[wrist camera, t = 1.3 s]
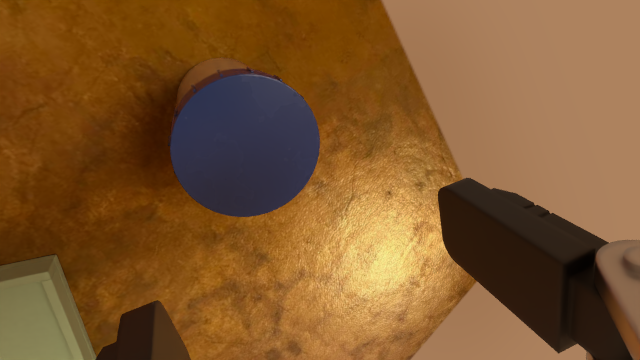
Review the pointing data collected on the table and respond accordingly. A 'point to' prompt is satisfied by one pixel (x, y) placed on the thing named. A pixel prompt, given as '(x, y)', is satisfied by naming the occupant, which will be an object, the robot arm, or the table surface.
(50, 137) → the table surface
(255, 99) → the lid
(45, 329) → the tray
